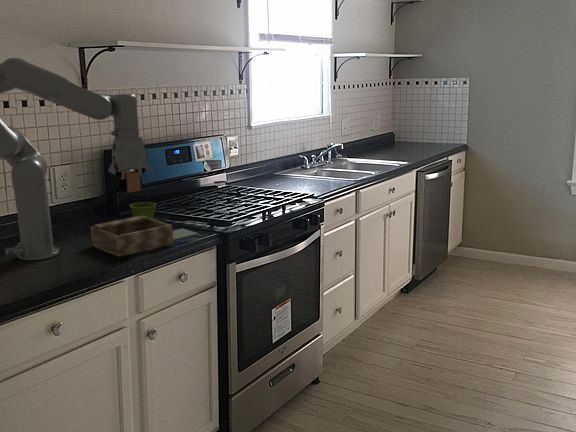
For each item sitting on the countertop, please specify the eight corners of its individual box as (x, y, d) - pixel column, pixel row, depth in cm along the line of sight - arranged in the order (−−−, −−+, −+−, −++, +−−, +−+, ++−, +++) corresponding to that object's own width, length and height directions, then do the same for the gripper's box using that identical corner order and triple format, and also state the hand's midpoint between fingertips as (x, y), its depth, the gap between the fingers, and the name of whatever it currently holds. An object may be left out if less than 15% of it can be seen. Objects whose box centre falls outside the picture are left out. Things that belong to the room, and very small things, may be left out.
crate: (119, 256, 204) (117, 234, 203) (92, 246, 217) (90, 224, 216) (173, 244, 217) (171, 222, 216) (145, 234, 230) (143, 214, 229)
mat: (174, 240, 222) (174, 238, 222) (158, 234, 230) (158, 233, 229) (198, 234, 229) (198, 233, 229) (182, 229, 236) (182, 228, 236)
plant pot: (146, 223, 247) (144, 200, 245) (162, 226, 241) (161, 203, 239) (126, 228, 240) (124, 205, 238) (142, 232, 234) (140, 208, 232)
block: (128, 192, 208) (127, 173, 207) (121, 190, 212) (120, 172, 210) (140, 190, 211) (139, 172, 210) (133, 188, 215) (132, 170, 213)
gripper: (108, 136, 199) (112, 195, 203) (156, 132, 210) (159, 187, 214) (96, 135, 205) (101, 192, 209) (144, 130, 216) (148, 185, 220)
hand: (131, 189), depth 212 cm, fingers closed on block, 4 cm apart
